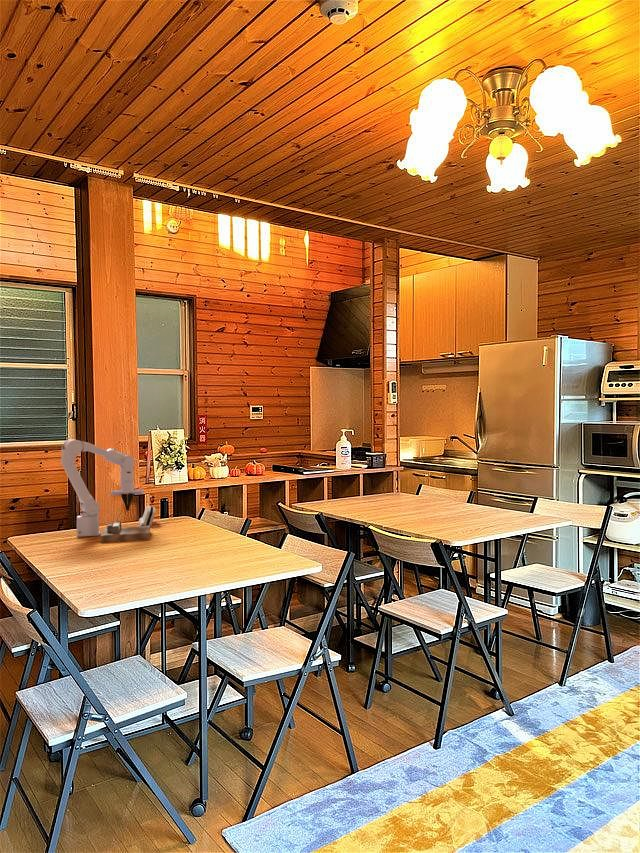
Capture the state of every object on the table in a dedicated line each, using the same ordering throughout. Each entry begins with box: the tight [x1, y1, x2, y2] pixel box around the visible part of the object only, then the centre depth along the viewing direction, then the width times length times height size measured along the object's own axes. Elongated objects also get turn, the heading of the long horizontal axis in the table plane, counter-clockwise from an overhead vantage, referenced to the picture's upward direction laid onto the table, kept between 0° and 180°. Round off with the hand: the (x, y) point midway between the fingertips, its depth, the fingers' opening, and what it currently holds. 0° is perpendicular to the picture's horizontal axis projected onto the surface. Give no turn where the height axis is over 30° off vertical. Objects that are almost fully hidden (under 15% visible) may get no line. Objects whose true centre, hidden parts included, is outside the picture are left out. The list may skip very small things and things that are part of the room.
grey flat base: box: [99, 523, 151, 543], centre depth 290 cm, size 20×18×6 cm
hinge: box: [138, 505, 156, 527], centre depth 323 cm, size 17×5×10 cm, turn 18°
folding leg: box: [112, 520, 122, 534], centre depth 290 cm, size 14×3×3 cm, turn 13°
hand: (127, 510), depth 307 cm, fingers closed
